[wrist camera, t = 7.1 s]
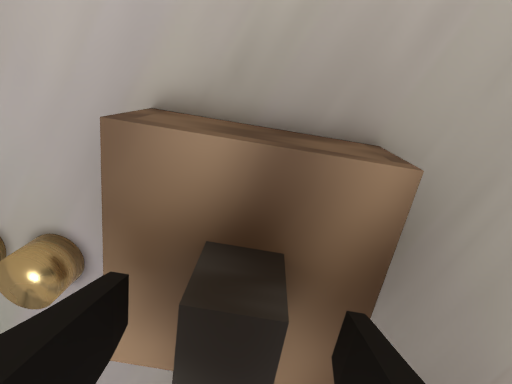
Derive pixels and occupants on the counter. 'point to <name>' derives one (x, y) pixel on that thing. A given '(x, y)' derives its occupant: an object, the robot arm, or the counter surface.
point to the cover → (244, 243)
